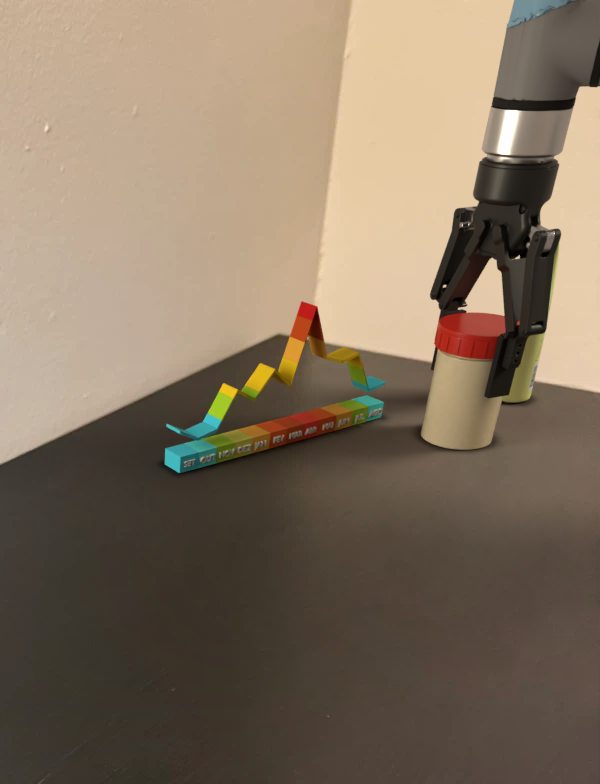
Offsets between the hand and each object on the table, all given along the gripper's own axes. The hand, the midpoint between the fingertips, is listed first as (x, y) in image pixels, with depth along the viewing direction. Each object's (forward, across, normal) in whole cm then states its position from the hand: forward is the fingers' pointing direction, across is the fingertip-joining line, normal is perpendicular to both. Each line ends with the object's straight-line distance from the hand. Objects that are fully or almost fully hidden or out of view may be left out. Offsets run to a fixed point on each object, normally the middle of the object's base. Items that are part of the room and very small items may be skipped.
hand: (468, 381), depth 112 cm
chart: (+7, +7, +20) cm, 22 cm away
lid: (-6, 0, 0) cm, 6 cm away
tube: (+7, +9, -14) cm, 18 cm away
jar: (+6, 0, 0) cm, 6 cm away
